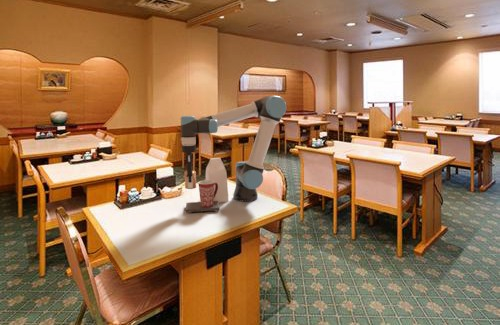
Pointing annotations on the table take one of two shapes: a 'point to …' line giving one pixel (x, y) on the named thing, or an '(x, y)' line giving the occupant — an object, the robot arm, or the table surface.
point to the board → (200, 207)
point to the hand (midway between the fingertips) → (190, 186)
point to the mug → (207, 192)
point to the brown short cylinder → (193, 180)
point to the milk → (218, 178)
